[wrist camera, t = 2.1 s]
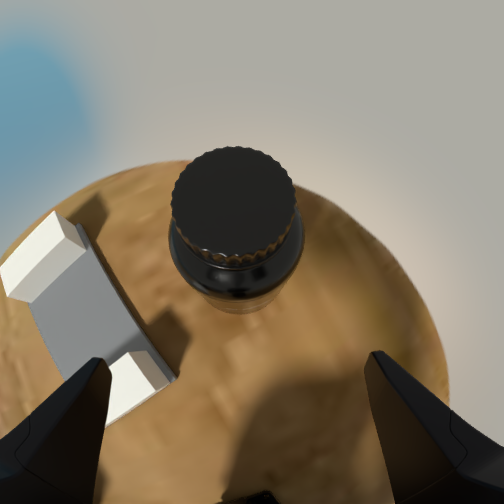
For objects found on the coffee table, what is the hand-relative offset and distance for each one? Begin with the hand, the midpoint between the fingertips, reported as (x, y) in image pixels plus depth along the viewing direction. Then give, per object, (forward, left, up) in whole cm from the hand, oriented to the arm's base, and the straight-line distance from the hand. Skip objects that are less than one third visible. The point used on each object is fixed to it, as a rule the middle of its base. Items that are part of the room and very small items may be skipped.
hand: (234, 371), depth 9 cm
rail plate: (+7, +11, -12) cm, 18 cm away
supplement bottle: (+5, -3, -12) cm, 14 cm away
